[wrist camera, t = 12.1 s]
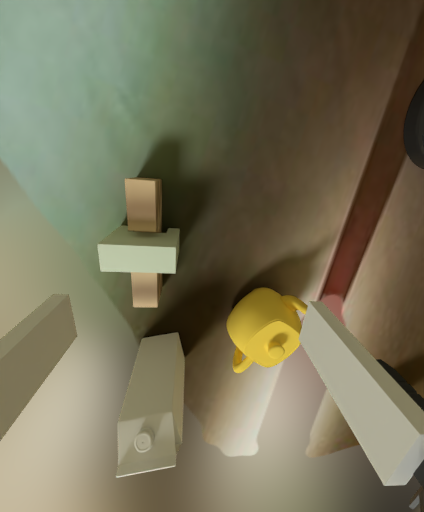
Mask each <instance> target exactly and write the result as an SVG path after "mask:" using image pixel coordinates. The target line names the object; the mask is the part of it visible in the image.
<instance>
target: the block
mask: <svg viewBox="0 0 424 512" xmlns="http://www.w3.org/2000/svg"><path fill="white" fill-rule="evenodd" d="M179 233H180V229H178V228H168V230H167V233H153V232H133V230H128V226H120V227H118V228H117V229H116V230H115V231H113V232H112V233H111V234H110V235H108V236H107V237H106V238H104V239H103V240H102V241H101V242H99V243H98V244H97V245H98V253H99V261H100V269H101V271H107V272H141V273H176V267H177V260H178V253H179Z"/></svg>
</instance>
